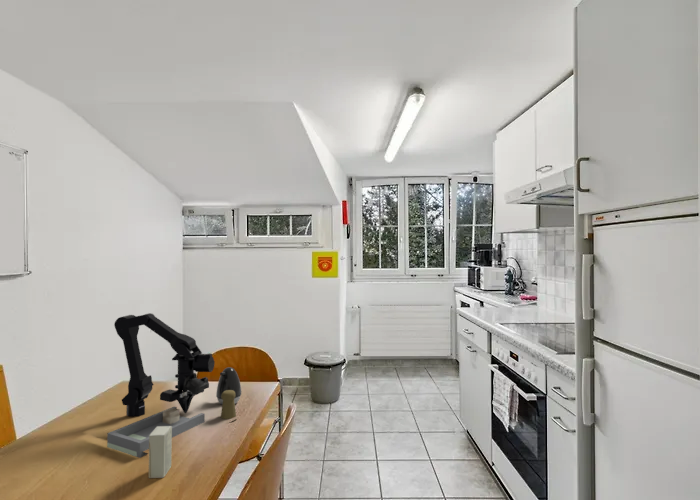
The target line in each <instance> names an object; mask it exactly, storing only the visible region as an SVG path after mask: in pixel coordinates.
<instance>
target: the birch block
mask: <svg viewBox="0 0 700 500" xmlns="http://www.w3.org/2000/svg"><path fill="white" fill-rule="evenodd" d="M162 411H163V422H164V423H167V424H172V423H174V422H177V421H179V417H180V416H181V415H180V409H179V408H177V409H176V408H172V407H170V409H169V408H167V409H165V411H164V410H162Z"/></svg>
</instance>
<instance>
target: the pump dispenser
mask: <svg viewBox="0 0 700 500" xmlns="http://www.w3.org/2000/svg"><path fill="white" fill-rule="evenodd" d="M219 375H220V376H219V379H218V382H217V387H216V392H215V394H216V398H217V399H216V400H217V402H218V403H219V404H220V405H222V404H223V400H222V398H221V395H222V393H223V392H224V391H226V390H233V391H234V392H235V399H234V403H235V405H236V404H237V403H238V402H239V400H240V398H241V395H242V386H241V381H240V378H239V375H238V373H237V371H236V370H235V368H233V367H231V366H230V367H229V366H228V367H226V368H224V369H223V371H222V372H220V373H219Z"/></svg>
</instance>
